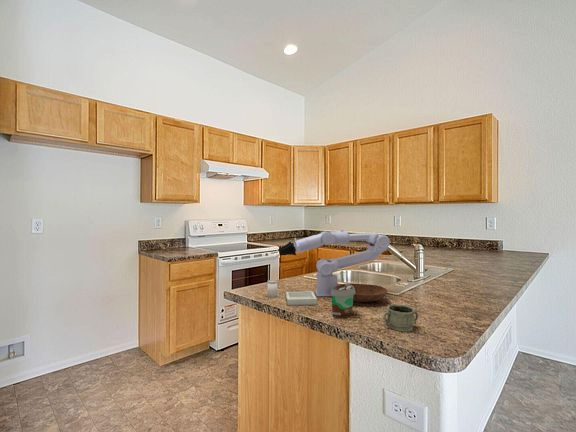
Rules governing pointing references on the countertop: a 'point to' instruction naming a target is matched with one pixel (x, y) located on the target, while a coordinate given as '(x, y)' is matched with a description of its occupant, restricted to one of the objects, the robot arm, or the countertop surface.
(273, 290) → the shaker
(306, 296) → the tray
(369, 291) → the bowl
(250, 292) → the countertop surface
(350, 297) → the food container
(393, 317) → the vessel
